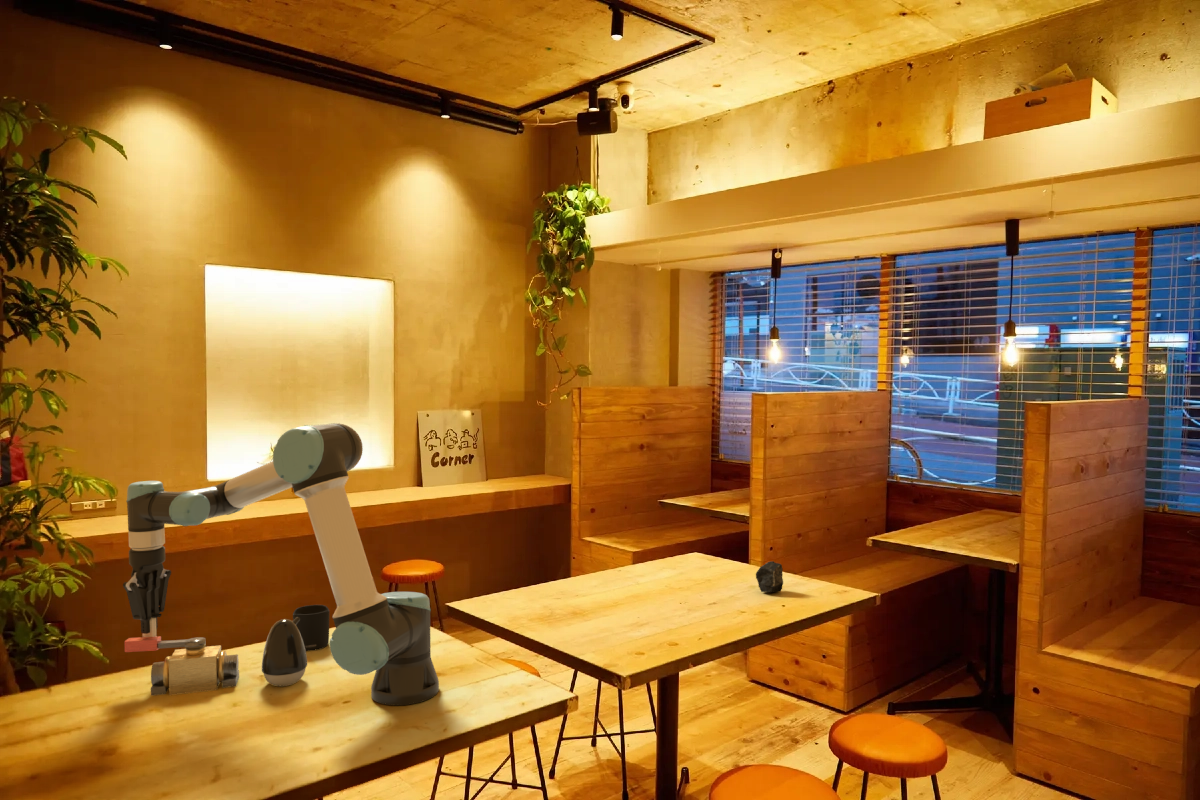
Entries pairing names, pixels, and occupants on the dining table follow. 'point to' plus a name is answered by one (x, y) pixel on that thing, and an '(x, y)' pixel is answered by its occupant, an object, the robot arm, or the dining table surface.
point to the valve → (194, 671)
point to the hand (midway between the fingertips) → (149, 645)
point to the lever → (162, 643)
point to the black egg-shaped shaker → (284, 654)
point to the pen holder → (313, 626)
